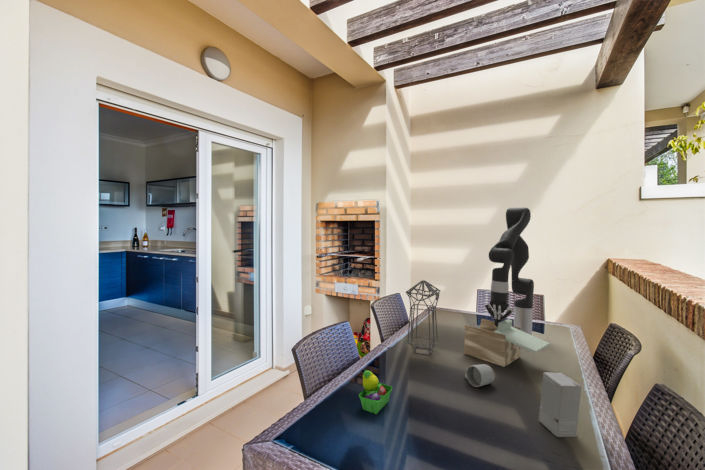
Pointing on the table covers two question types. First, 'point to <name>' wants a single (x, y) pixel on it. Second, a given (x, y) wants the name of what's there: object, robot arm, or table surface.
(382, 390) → the fruit basket
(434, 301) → the geometric lantern
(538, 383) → the table surface
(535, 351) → the cover plate
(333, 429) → the table surface
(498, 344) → the birch box
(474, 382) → the ceramic mug
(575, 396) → the skincare box
